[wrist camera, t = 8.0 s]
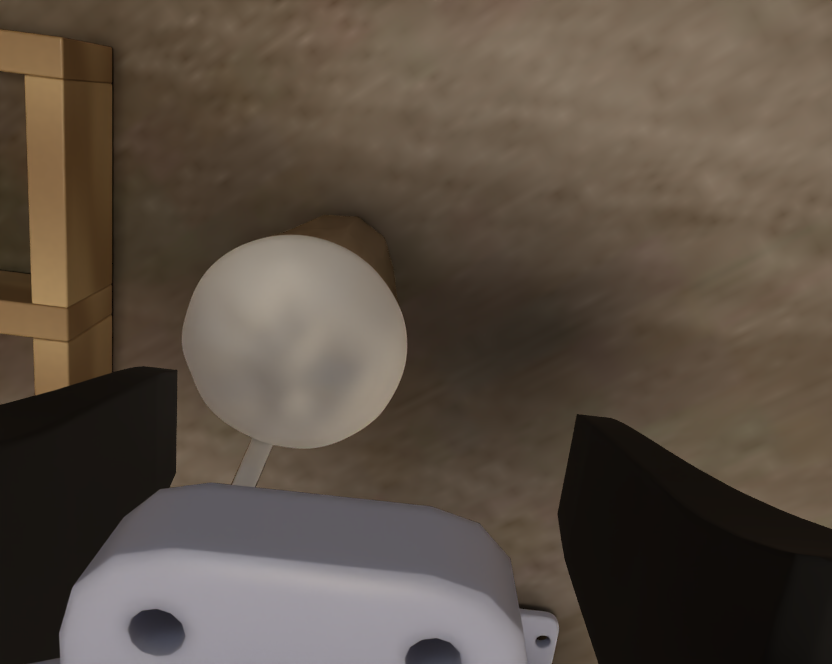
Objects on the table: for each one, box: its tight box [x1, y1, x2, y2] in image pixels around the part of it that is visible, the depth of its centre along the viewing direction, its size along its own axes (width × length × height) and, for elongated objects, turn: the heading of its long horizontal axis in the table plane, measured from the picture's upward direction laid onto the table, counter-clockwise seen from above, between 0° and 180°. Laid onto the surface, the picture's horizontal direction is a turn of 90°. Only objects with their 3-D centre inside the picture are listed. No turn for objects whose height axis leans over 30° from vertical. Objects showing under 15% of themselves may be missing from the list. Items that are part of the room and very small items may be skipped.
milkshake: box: [182, 215, 407, 487], centre depth 18 cm, size 4×5×10 cm
